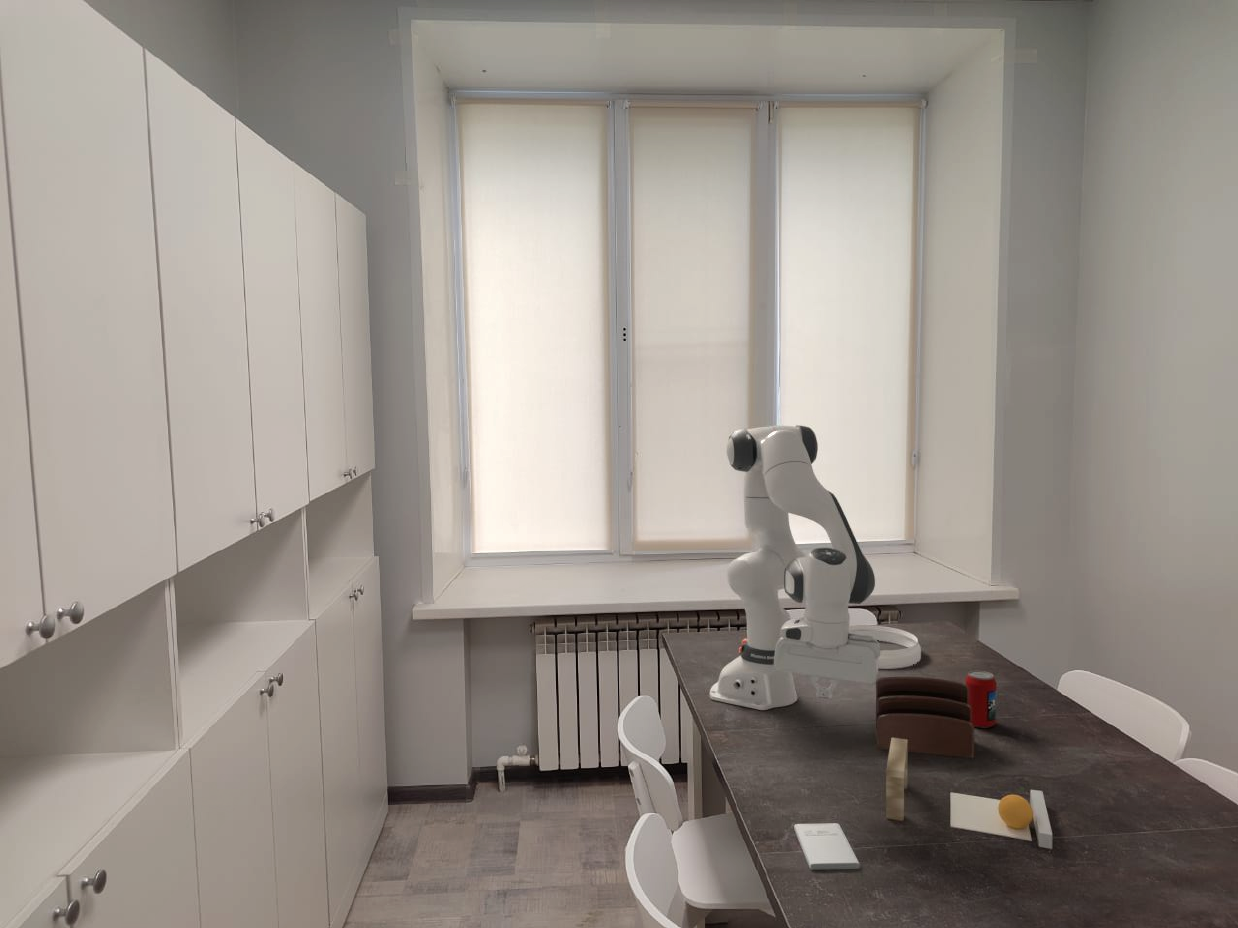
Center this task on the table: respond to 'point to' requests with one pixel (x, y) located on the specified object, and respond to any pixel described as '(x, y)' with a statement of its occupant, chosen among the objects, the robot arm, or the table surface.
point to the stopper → (1041, 819)
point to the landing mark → (982, 817)
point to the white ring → (893, 635)
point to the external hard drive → (826, 846)
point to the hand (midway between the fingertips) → (824, 697)
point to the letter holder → (924, 715)
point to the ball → (1015, 811)
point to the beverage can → (982, 698)
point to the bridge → (896, 779)
